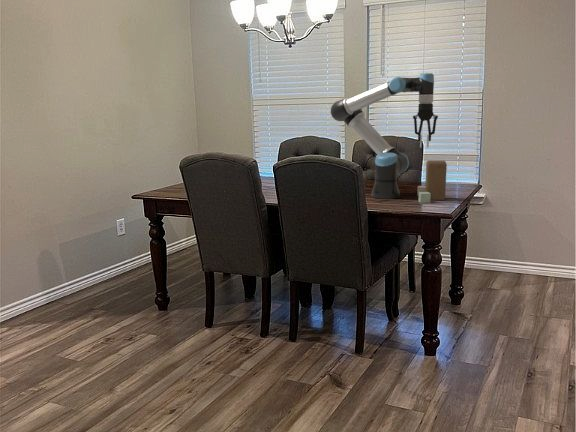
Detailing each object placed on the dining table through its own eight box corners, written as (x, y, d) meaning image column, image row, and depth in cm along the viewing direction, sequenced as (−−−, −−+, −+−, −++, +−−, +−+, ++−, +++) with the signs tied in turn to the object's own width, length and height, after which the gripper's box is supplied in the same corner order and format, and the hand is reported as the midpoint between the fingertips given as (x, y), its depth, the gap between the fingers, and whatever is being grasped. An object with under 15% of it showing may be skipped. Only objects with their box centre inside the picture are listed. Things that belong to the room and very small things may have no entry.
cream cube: (417, 196, 312) (417, 187, 311) (418, 194, 317) (418, 185, 316) (426, 196, 311) (426, 187, 310) (427, 195, 315) (427, 186, 314)
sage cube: (420, 203, 292) (420, 193, 291) (418, 201, 297) (418, 192, 296) (430, 203, 292) (430, 193, 291) (428, 201, 297) (428, 191, 296)
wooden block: (445, 200, 297) (446, 162, 293) (425, 200, 299) (426, 162, 295) (443, 197, 307) (445, 160, 303) (424, 197, 309) (426, 160, 305)
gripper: (410, 103, 301) (409, 147, 306) (441, 103, 298) (439, 147, 303) (410, 103, 308) (408, 146, 313) (440, 102, 306) (438, 146, 310)
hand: (424, 147), depth 308 cm, fingers open, 3 cm apart
